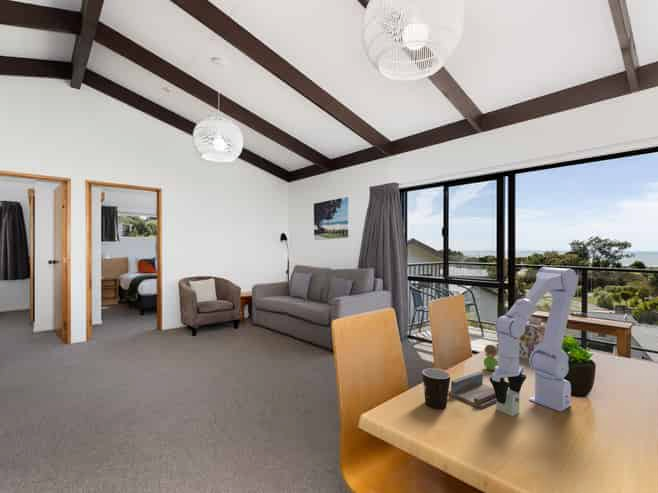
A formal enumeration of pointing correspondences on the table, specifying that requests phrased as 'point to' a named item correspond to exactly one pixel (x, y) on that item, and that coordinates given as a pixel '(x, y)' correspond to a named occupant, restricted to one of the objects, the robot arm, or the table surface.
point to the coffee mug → (436, 387)
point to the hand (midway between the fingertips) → (507, 399)
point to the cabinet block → (509, 403)
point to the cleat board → (473, 390)
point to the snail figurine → (491, 357)
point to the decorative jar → (531, 337)
